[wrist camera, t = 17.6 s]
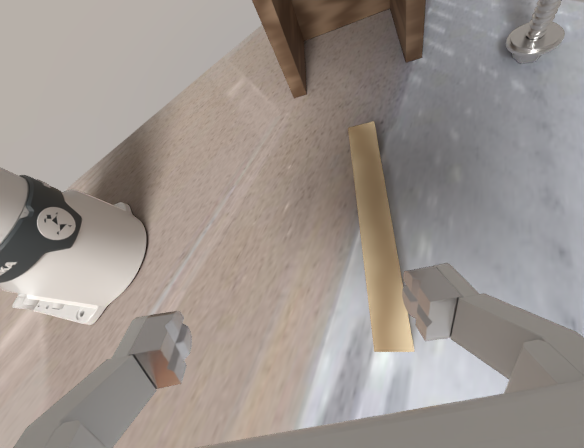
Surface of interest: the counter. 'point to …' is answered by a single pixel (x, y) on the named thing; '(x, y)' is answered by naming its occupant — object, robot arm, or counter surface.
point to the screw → (536, 34)
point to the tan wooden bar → (378, 245)
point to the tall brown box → (331, 28)
